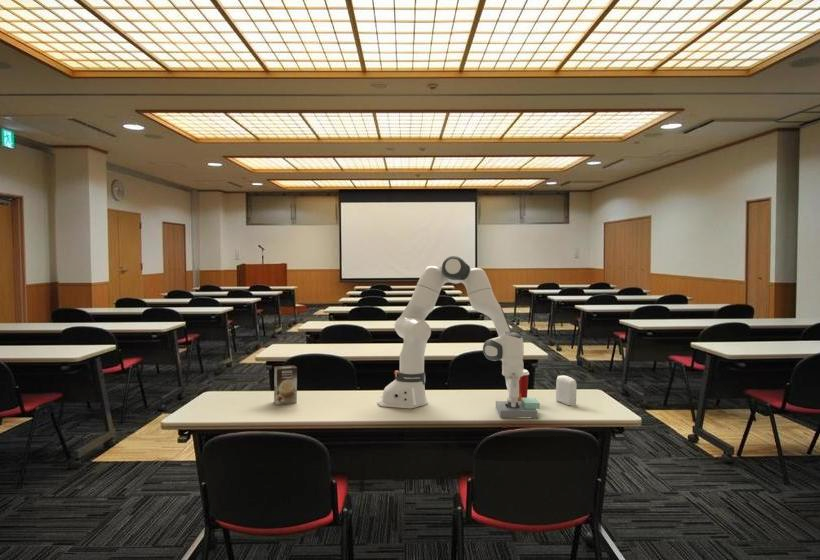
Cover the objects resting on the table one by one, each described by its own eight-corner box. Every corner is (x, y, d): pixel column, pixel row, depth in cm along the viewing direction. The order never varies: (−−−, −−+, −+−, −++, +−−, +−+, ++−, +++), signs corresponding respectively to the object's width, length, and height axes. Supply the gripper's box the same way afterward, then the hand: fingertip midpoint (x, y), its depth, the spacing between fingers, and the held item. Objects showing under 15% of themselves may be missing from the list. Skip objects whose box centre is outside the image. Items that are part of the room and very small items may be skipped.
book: (577, 405, 222) (578, 378, 222) (570, 406, 220) (570, 379, 220) (561, 399, 231) (562, 373, 231) (554, 400, 230) (554, 374, 229)
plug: (507, 414, 209) (508, 400, 209) (507, 411, 213) (507, 397, 213) (517, 414, 209) (517, 400, 208) (516, 411, 213) (516, 397, 212)
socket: (500, 417, 204) (500, 410, 204) (495, 407, 218) (495, 401, 218) (537, 418, 203) (537, 411, 203) (530, 408, 217) (530, 401, 217)
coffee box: (276, 405, 220) (276, 369, 219) (273, 401, 226) (273, 366, 225) (297, 402, 224) (297, 367, 223) (294, 399, 230) (294, 364, 229)
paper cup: (527, 398, 233) (528, 368, 232) (530, 403, 225) (530, 372, 225) (510, 398, 234) (511, 368, 233) (512, 402, 226) (512, 372, 226)
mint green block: (524, 408, 206) (524, 402, 206) (521, 403, 214) (521, 397, 214) (539, 409, 206) (539, 403, 206) (535, 403, 214) (535, 397, 214)
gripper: (523, 376, 199) (522, 410, 200) (517, 366, 220) (517, 397, 220) (507, 376, 200) (506, 410, 201) (503, 365, 220) (502, 396, 221)
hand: (512, 403), depth 211 cm, fingers open, 8 cm apart
